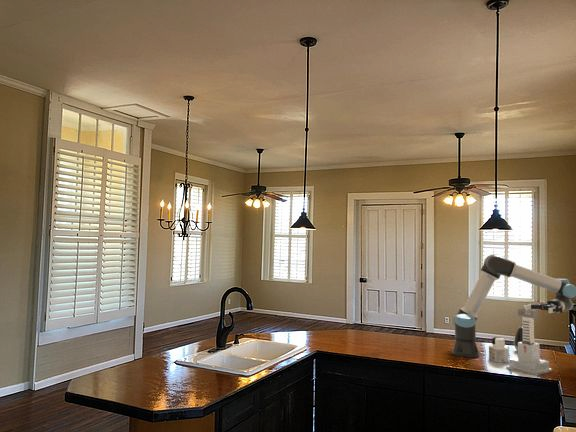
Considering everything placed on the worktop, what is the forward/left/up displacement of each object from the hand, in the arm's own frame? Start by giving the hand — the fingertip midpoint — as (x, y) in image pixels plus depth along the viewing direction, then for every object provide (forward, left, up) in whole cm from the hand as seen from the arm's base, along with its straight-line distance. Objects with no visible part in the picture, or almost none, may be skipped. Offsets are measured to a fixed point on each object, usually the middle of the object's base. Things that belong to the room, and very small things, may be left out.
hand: (536, 309), depth 256 cm
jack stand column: (-9, -11, -29) cm, 33 cm away
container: (-18, +7, -31) cm, 37 cm away
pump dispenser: (+6, +32, -31) cm, 45 cm away
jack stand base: (-9, -11, -31) cm, 34 cm away
